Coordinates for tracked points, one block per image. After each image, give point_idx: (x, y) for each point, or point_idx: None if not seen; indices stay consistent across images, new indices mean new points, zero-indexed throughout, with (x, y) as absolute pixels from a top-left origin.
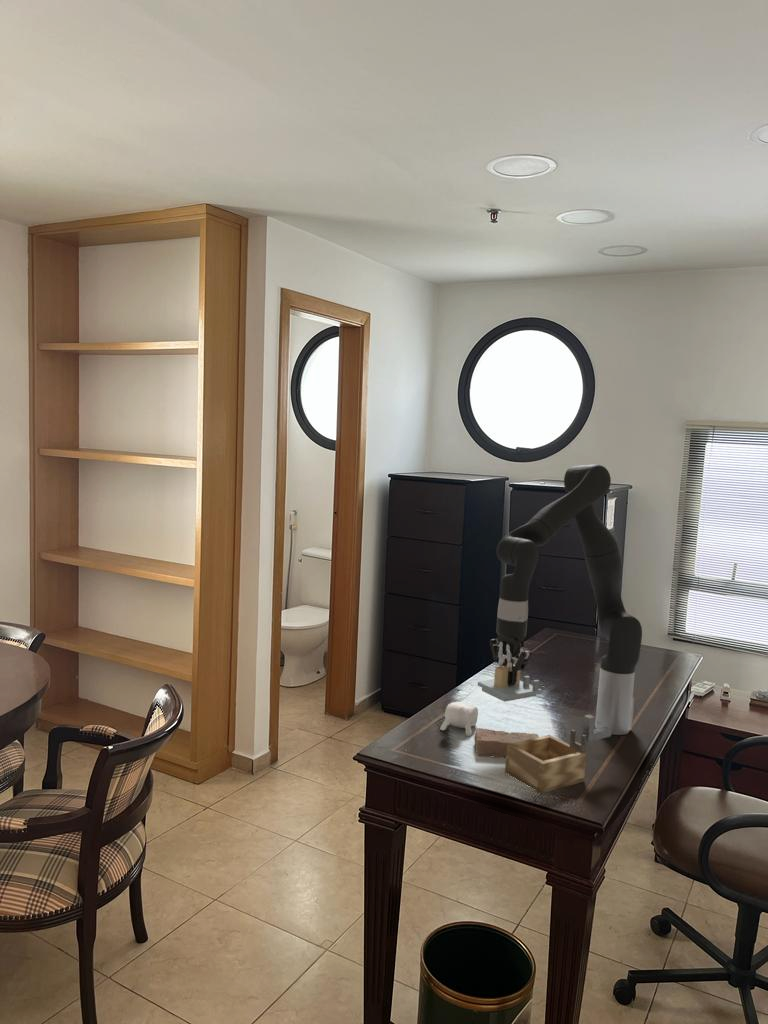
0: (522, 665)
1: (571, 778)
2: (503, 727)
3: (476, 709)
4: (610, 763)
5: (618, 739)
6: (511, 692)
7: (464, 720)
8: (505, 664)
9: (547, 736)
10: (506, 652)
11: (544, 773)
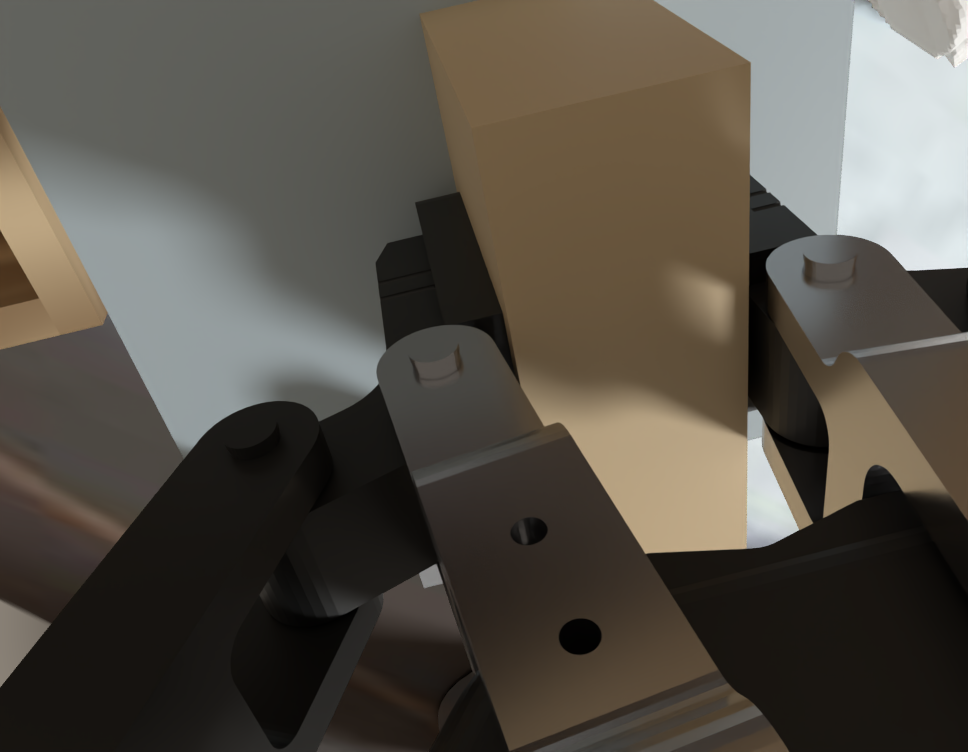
0: (282, 645)
1: None
2: None
3: (941, 23)
4: (104, 549)
5: (399, 686)
6: (121, 88)
7: None
8: (768, 391)
9: (60, 289)
10: (805, 618)
11: None
